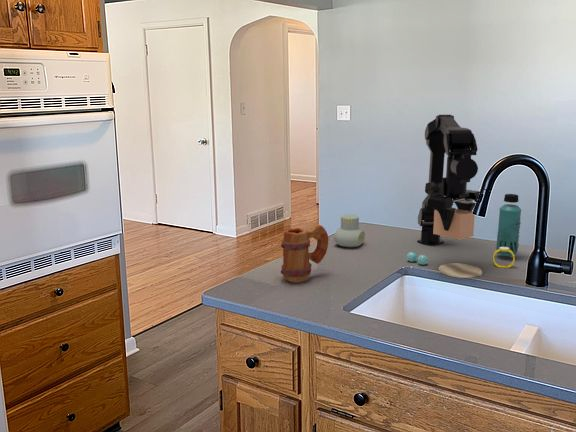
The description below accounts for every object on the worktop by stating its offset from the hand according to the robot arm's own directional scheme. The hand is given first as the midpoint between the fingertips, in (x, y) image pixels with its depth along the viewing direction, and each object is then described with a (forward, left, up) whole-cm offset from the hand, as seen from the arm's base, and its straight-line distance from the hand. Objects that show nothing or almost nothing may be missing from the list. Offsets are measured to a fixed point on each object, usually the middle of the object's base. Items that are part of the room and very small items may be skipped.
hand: (453, 228), depth 165 cm
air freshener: (+3, -38, -13) cm, 40 cm away
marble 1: (+2, -13, -12) cm, 18 cm away
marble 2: (+2, -9, -12) cm, 15 cm away
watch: (-14, +8, -13) cm, 21 cm away
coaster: (-1, +2, -12) cm, 13 cm away
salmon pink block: (0, 0, -2) cm, 2 cm away
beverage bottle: (-23, +4, -13) cm, 27 cm away
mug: (+37, -23, -13) cm, 45 cm away
